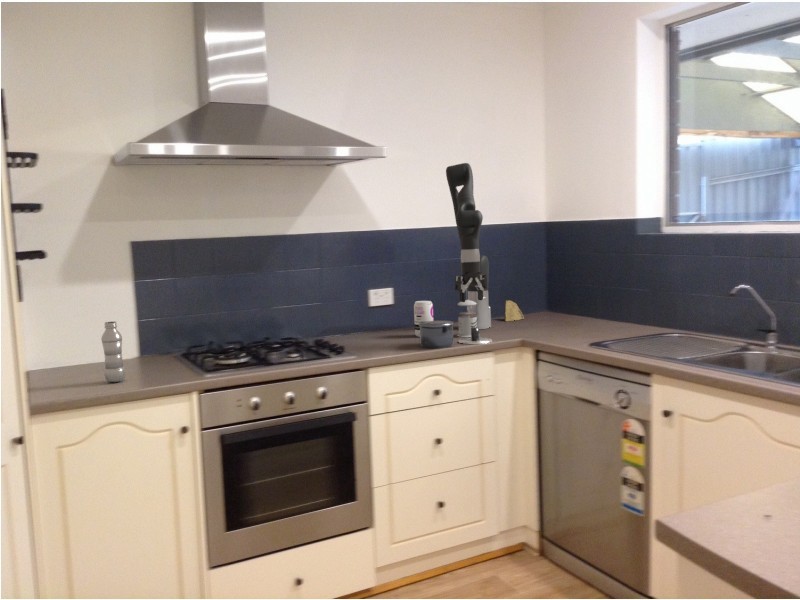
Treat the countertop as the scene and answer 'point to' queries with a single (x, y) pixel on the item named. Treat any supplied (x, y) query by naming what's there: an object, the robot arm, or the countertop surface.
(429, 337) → the pot
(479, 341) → the lid
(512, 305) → the yellow wedge
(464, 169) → the robot arm
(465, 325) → the french press
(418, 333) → the supplement can
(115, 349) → the plastic bottle
